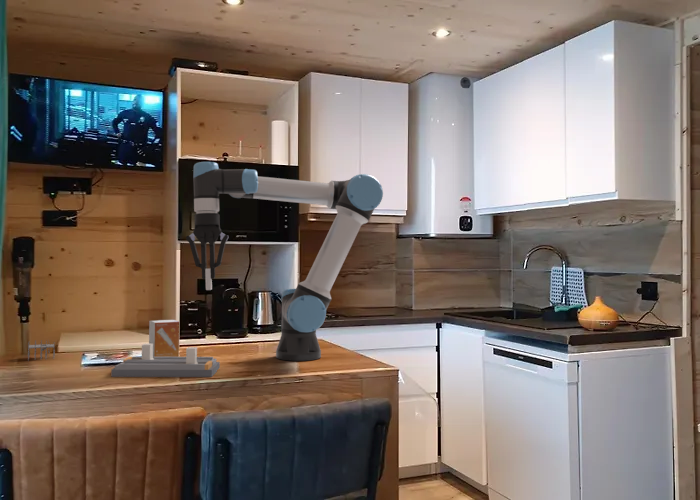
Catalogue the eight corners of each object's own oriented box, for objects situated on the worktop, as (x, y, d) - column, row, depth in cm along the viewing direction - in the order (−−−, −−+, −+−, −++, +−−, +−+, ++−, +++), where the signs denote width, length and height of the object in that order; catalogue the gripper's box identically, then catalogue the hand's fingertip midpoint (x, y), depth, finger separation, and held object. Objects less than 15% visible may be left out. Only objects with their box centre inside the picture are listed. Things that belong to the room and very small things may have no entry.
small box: (154, 363, 195) (154, 322, 196) (148, 360, 201) (148, 320, 201) (179, 361, 200) (179, 321, 200) (173, 358, 205) (173, 319, 205)
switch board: (219, 368, 189) (219, 356, 189) (211, 376, 176) (211, 364, 176) (126, 368, 188) (126, 356, 188) (111, 376, 175) (111, 364, 175)
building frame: (27, 358, 203) (28, 340, 203) (55, 357, 207) (55, 339, 207) (27, 361, 198) (27, 342, 198) (54, 360, 201) (55, 341, 201)
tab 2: (197, 365, 180) (198, 347, 180) (195, 367, 177) (195, 348, 177) (187, 365, 180) (187, 347, 180) (184, 367, 177) (185, 348, 177)
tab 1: (153, 361, 186) (154, 343, 187) (150, 363, 183) (151, 345, 183) (143, 361, 186) (143, 343, 186) (140, 363, 183) (140, 344, 183)
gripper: (229, 213, 195) (231, 288, 195) (187, 214, 194) (189, 289, 194) (227, 211, 188) (229, 289, 188) (183, 212, 186) (185, 291, 186)
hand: (208, 289), depth 191 cm, fingers closed
